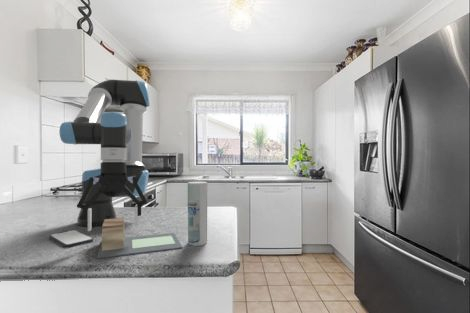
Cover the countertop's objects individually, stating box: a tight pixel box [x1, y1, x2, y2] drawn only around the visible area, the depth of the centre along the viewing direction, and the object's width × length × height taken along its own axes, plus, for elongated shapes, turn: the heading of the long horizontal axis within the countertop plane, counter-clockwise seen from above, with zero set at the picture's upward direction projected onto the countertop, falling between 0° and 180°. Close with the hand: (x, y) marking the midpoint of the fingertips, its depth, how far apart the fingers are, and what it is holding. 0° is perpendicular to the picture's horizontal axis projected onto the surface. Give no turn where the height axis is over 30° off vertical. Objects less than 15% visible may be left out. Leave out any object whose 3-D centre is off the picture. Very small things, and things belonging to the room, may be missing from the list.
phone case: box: [48, 229, 94, 249], centre depth 94 cm, size 9×2×16 cm
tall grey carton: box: [187, 180, 208, 247], centre depth 91 cm, size 6×6×20 cm
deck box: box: [101, 217, 125, 251], centre depth 88 cm, size 10×6×7 cm, turn 21°
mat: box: [96, 232, 183, 260], centre depth 89 cm, size 17×24×1 cm
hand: (113, 228), depth 87 cm, fingers open, 13 cm apart
